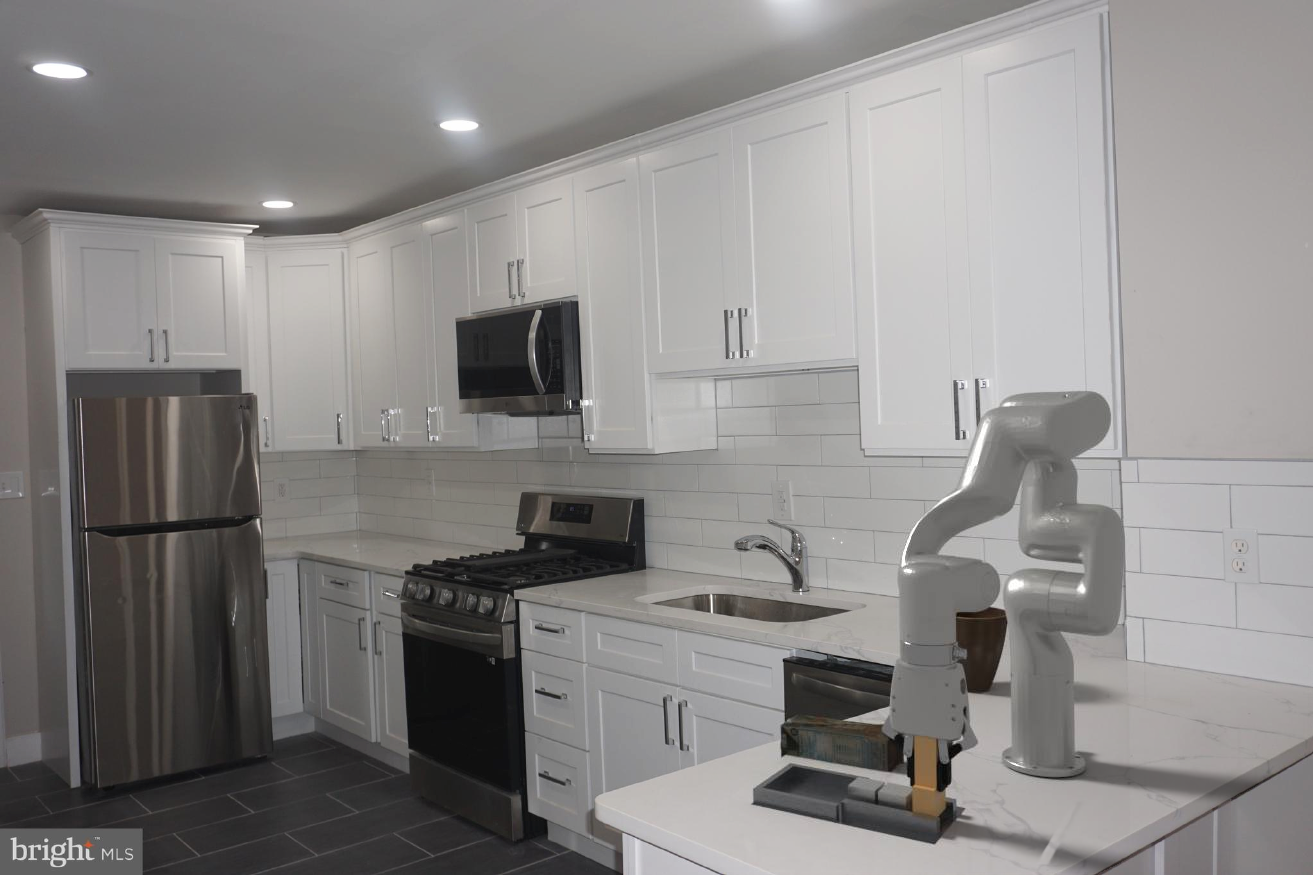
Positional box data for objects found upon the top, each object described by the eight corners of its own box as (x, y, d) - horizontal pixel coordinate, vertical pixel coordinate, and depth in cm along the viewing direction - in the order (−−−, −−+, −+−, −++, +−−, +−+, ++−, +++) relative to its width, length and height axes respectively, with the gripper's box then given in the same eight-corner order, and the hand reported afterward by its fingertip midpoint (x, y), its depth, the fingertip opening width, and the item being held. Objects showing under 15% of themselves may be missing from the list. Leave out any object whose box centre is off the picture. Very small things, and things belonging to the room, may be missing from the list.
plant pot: (947, 675, 217) (946, 602, 217) (1018, 684, 209) (1017, 608, 209) (924, 691, 205) (923, 613, 205) (998, 701, 197) (997, 620, 196)
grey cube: (888, 806, 143) (888, 782, 143) (915, 812, 141) (915, 787, 141) (878, 816, 140) (878, 791, 139) (906, 822, 137) (905, 796, 137)
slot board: (792, 779, 157) (792, 761, 157) (965, 813, 142) (965, 793, 142) (751, 809, 145) (750, 790, 145) (934, 850, 130) (934, 828, 130)
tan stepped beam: (924, 803, 140) (923, 718, 140) (945, 808, 139) (944, 722, 138) (912, 815, 136) (911, 728, 136) (934, 820, 134) (933, 731, 134)
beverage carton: (797, 746, 173) (797, 708, 173) (906, 763, 163) (906, 724, 163) (779, 760, 166) (778, 720, 166) (891, 779, 157) (891, 737, 156)
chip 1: (858, 800, 145) (858, 776, 145) (885, 805, 143) (884, 781, 143) (848, 809, 142) (847, 785, 142) (875, 815, 140) (874, 790, 140)
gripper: (995, 654, 136) (997, 789, 136) (880, 641, 145) (882, 767, 145) (980, 666, 129) (982, 807, 130) (861, 652, 138) (862, 783, 139)
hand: (929, 785), depth 137 cm, fingers closed on tan stepped beam, 3 cm apart
